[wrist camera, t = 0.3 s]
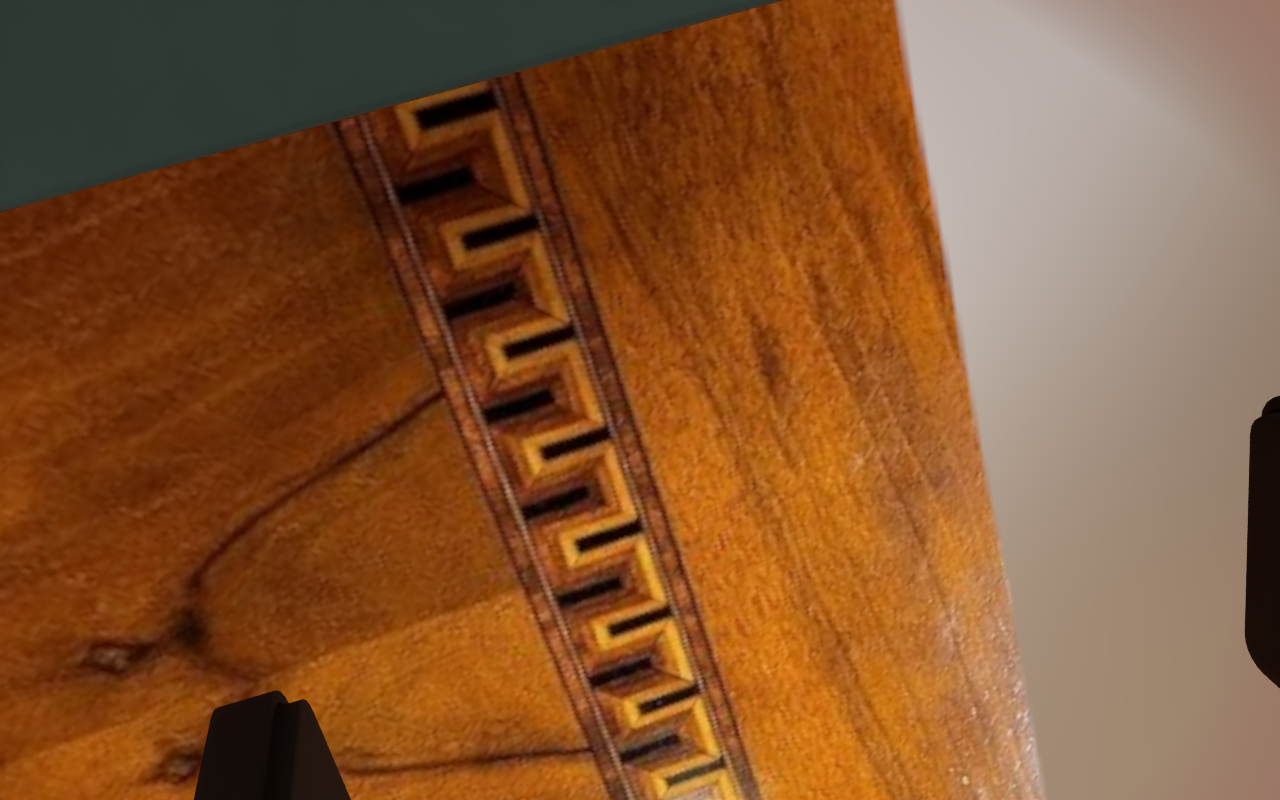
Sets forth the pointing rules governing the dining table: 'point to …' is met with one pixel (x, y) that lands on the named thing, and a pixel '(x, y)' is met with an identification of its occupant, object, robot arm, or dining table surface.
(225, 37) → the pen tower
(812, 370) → the dining table surface
